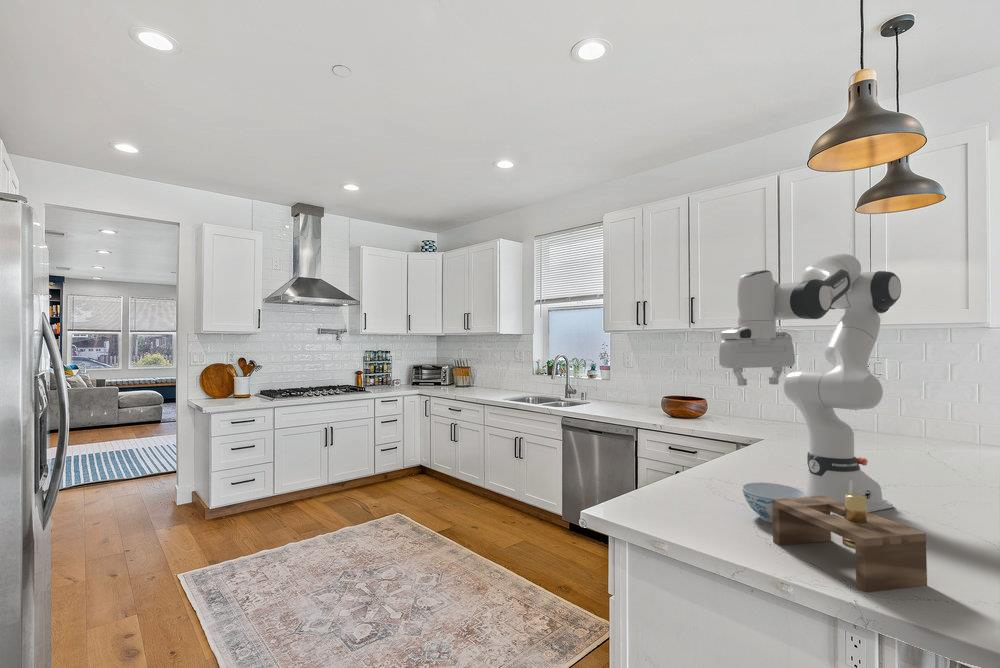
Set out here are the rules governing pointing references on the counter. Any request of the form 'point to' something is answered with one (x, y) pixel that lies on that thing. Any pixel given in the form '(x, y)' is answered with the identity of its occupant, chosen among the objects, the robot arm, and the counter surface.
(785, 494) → the chinaware
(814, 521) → the keyhole shelf
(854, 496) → the brass peg
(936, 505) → the counter surface
